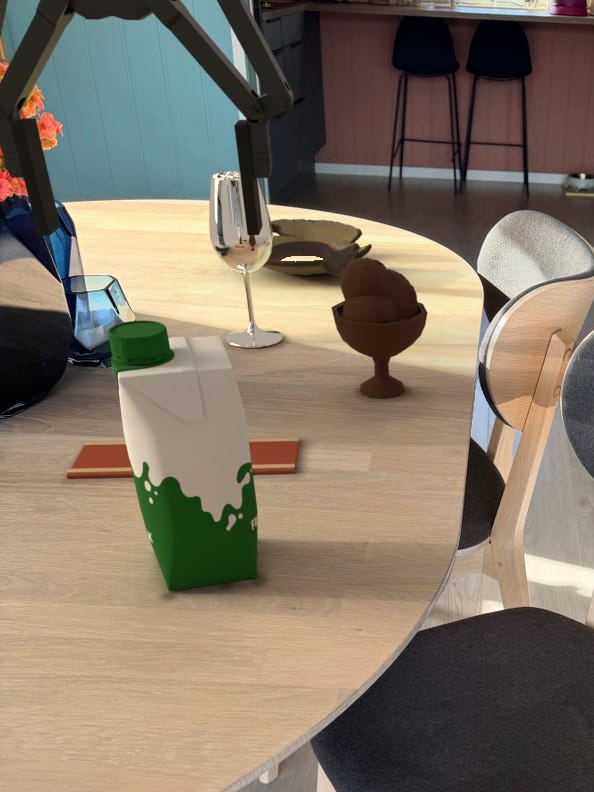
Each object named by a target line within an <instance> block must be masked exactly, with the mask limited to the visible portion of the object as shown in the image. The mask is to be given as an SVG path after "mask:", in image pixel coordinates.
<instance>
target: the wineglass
mask: <svg viewBox="0 0 594 792" xmlns="http://www.w3.org/2000/svg"><path fill="white" fill-rule="evenodd" d="M259 179H260V178H257V180H258V189H259V198H260V207H261V216H262V225H263V226H262V229H261V231H260V234H259V235H247V226H246V218H245V210H244V202H243V193H242V185H241V177H240V171H222V172H215V173H214V174H212V175H211V176H210V189H209V207H208V208H209V209H208V229H209V230H208V231H209V239H210V243H211V247H212V249H213V251H214V254H215V256H216V257H217V258H218V260H219V261H220V262H221V263H222V264H224V265H225V266H226V267H227V268H228V269H229V270H232V271H234V272H237V273H239V274H240V275H241V277H242V280H243V281H242V282H243V284H244V289H245V290H244V291H245V296H246V304H247V313H248V326H247V328H243V329H236V330H234V331H231V332H229V333H228V334H227V335H226V336H225V338H224V341H225V342H226V343H227V344H228V345H229V346H230V345H231V346H233V347H237V348H244V349H257V348H266V347H270V346H273V345H276V344H279V342H281V341H282V340H283V337H284V336H283V334H282V332H281V331H278V330H276V329H273V328H266V327H259V326H258V324H257V322H256V320H255V319H256V318H255V310H254V303H253V296H252V274H253V273H255V272H257V271H258V270H259V269H261V268H262V267H263V265H264V264H265V263H266V262H267V261H268V259H269V257H270V255H271V253H272V249H273V236H274V233H273V231H272V226H271V221H272V220H271V217H270V212H269V209H268V206H267V202H266V199H265V196H264V192H263V189H262V186H261V183H260V180H259Z"/></svg>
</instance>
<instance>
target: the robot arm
mask: <svg viewBox="0 0 594 792" xmlns="http://www.w3.org/2000/svg"><path fill="white" fill-rule="evenodd" d="M216 2H217V3H218V5H219V7H220V9H221V11H222V13H223V15H224V17H225V19H226V20H227V22H228V24H229V26H230V28H231V30H232V32H233V34H234V36H235V37H236V39H237V41H238V42H239V45H240V46H241V49H242V50H243V52H244V54H245V56H246V58H247V59H248V61H249V63H250V65H251V67H252V69H253V71H254V73H255V74H256V76H257V78H258V80H259V82H260V84H261V85H262V87H263V89H264V91H265V93H264V94H261V95H259V93H258V92H257V91H256V90H255V88H254V87H253V86H252V84H250V83H249V81H248V80H247V79H246V78H245V77H244V75H242V73H241V72H240V71H239V70H238V68H237V67H236V66H235V65H234V64H233V62H231V60H230V59H229V58H228V56H227V55H226V54H225V53H224V52H223V51H222V50H221V48H220V47H219V45H217V43H216V42H214V40H213V39H212V38H211V36H210V35H209V34H208V33H207V31H206V30H204V28H203V27H202V26H201V25H200V23H199V22H198V21H197V20H196V19H195V18H194V17H193V15H192V14H191V13H190V12H189V9H188V8H187V6H186V5H185V4H184V3H183V1H182V0H39V2H38V4H37V6H36V9H35V14H34V15H33V17H32V19H31V21H30V23H29V25H28V27H27V30H26V31H25V33H24V35H23V37H22V39H21V41H20V43H19V45H18V47H17V49H16V51H15V52H14V55H13V57H12V58H11V60H10V62H9V64H8V66H7V68H6V70H5V72H4V74H3V76H2V78H1V80H0V152H1V155H2V159H3V163H4V166H5V170H6V171H7V173H8V174H9V176H10V178H11V179H19V178H20V179H23V182H24V185H25V189H26V194H27V197H28V201H29V206H30V210H31V215H32V218H33V222H34V226H35V230H36V234H37V236H38V237H50V236H51V235H53V234H54V233H55V232H56V231H57V230H58V229H60V228H61V222H60V218H59V213H58V209H57V205H56V201H55V197H54V191H53V188H52V183H51V178H50V175H49V171H48V165H47V162H46V158H45V153H44V149H43V144H42V140H41V136H40V132H39V131H40V130H39V127H38V123H37V119H36V117H23V118H22V117H21V115H22V114H23V113H24V111H23V109H24V107H25V105H26V103H27V101H28V99H29V97H30V95H31V93H32V92H33V90H34V88H35V86H36V84H37V82H38V80H39V78H40V77H41V75H42V73H43V71H44V69H45V67H46V65H47V64H48V63H49V60H50V58H51V56H52V54H53V52H54V51H55V49H56V47H57V45H58V43H59V41H60V39H61V38H62V35H64V32H65V29H66V28H67V26H68V25H69V24H70V23H71V22H72V20H73V19H74V16H75V15H76V14H77V16H80V17H82V18H84V19H85V20H94V21H95V20H97V21H99V20H104V19H107V18H111V17H115V18H117V19H121V20H124V21H142V20H146V18H148V17H150V16H152V15H154V16H155V17H156V18H157V20H158V21H159V22H160V23H161V24H162V25H163V26H164V27H165V28H166V29H168V30H169V31H170V32H171V33H172V35H173V36H174V37H175V38H176V39H177V40H178V42H179V43H180V44H181V45H182V47H183V48H184V49H185V50H186V51H187V52H188V54H190V56H191V57H193V59H194V60H195V62H196V63H197V64H198V65H199V66H200V67H201V69H203V70H204V72H205V73H206V74H207V75H208V76H209V77H210V78H211V80H212V81H213V82H214V83H215V85H216V86H217V87H218V88H219V89H220V90H221V92H222V93H223V94H224V95H225V96H226V97H227V98H228V99H229V101H230V102H231V103H232V104H233V105H234V106H235V107H236V109H237V110H238V111H239V113H241V115H243V117H244V118H245V119H238V120H237V121H236V122H235V124H234V125H233V126H234V135H235V143H236V151H237V159H238V167H239V172H240V177H241V185H242V193H243V202H244V210H245V218H246V226H247V235H259V234H260V231H261V229H262V226H263V225H262V216H261V207H260V198H259V189H258V180H257V178H258V179H269V178H270V176H271V173H272V169H273V158H272V150H271V139H270V138H271V137H270V130H269V129H270V128H269V124H270V123H269V122H270V120H271V119H272V118H273V117H275V116H278V115H280V114H282V113H283V114H284V113H287V112H288V111H289V110H291V107H292V106H293V103H294V102H295V95H294V91H293V90H292V88H291V86H290V84H289V82H288V81H287V79H286V77H285V75H284V73H283V71H282V69H281V67H280V65H279V63H278V61H277V59H276V58H275V56H274V53H273V52H272V50H271V47H270V46H269V44H268V43H267V40H266V39H265V36H264V35H263V33H262V31H261V29H260V27H259V26H258V23H257V21H256V19H255V18H254V16H253V13H252V12H251V9H250V8H249V6H248V4H247V2H246V1H245V0H216ZM8 3H9V0H0V39H1V38H2V31H3V27H4V22H5V18H6V12H7V7H8Z"/></svg>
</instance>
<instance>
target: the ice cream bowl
mask: <svg viewBox="0 0 594 792" xmlns="http://www.w3.org/2000/svg"><path fill="white" fill-rule="evenodd" d="M339 284H340V290H341V293H342V295H343V298H344V300H343V301H341V302H339V303H337V304H335V305H333V306H331V307H330V308H331V312H332V316H333V320H334V324H335V328H336V330H337V332H338V334H339V336H340V339H341V340H342V341H343V342H344V343H345V344H346V345H347V346H348V347H349V348H351V349H352V350H354V351H356V352H357V353H359V354H361V355H364V356H366V357H369V358H371V359H372V361H373V366H374V375H373V376H371V377H370V378H368V379H366V380H365V381H363V382H362V383H360V386H359V392H360V394H361V395H363V396H366V397H368V398H370V399H392V398H395V397H400V396H401V395H403V394H404V393H405V392H406V389H405V385H404V383H403V381H401V380H400V379H397V378H396V377H394V376H392V375H390V367H389V363H390V360H391V358H394V357H396V356H398V355H400V354H401V353H403V352H405V350H407V349H408V348H410V347H411V346H412V345H414V343H416V341H417V340H418V339H420V337H421V336H422V334H423V332H424V330H425V327H426V325H427V324H426V323H427V319H428V311H427V309H426V306H425V305H424V303H423V302H419V300H418V295H417V292H416V289H415V287H414V285H412V283H411V282H410V281H409V279H407V278H406V276H405V275H404V274H403V273H400V272H398V271H396V270H393V269H390V268H387V267H386V266H385V264H384V263H383V262H381V261H380V260H378V259H374V258H370V257H362V258H361V259H357V260H355V261H352V262H350V263H349V264H348V265H347V267H346V268H345V269H344V271H343V272H342V274H341V275H340V279H339Z"/></svg>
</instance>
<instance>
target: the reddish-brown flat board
mask: <svg viewBox="0 0 594 792" xmlns="http://www.w3.org/2000/svg"><path fill="white" fill-rule="evenodd" d="M248 441H249V448H250V456H251V463H252V471H253V475H268V474H269V475H270V474H273V475H274V474H295V472H296V465H297V458H298V452H299V446H300V437H251V438H249V437H248ZM82 446H83V447H82V448H81V450H80V452H79V454H78V455H77V457H76V459H75V460H74V462H73V464H72V466H71V467H70V468H68V469H67V472H66V479H93V478H94V479H95V478H133V473H132V469H131V464H130V460H129V455H128V450H127V446H126V441H125V440H98V441H84V442H83V445H82Z"/></svg>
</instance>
